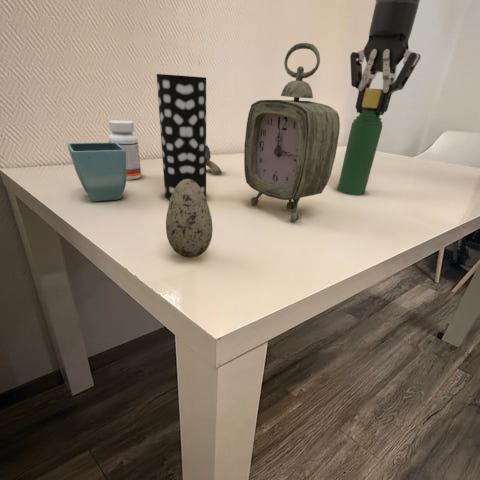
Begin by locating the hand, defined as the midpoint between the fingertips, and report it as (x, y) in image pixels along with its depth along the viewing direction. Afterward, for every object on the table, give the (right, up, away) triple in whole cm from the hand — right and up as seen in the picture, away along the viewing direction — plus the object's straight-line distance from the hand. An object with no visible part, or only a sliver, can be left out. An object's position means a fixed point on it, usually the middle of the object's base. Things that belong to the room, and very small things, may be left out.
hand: (369, 113), depth 70 cm
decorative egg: (-34, -35, -25) cm, 55 cm away
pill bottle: (-54, -10, +8) cm, 56 cm away
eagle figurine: (-37, -5, +17) cm, 41 cm away
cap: (0, +1, -1) cm, 1 cm away
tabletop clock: (-19, -23, -6) cm, 31 cm away
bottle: (-1, -13, +9) cm, 16 cm away
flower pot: (-54, -20, -6) cm, 58 cm away
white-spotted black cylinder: (-39, -19, -2) cm, 43 cm away
